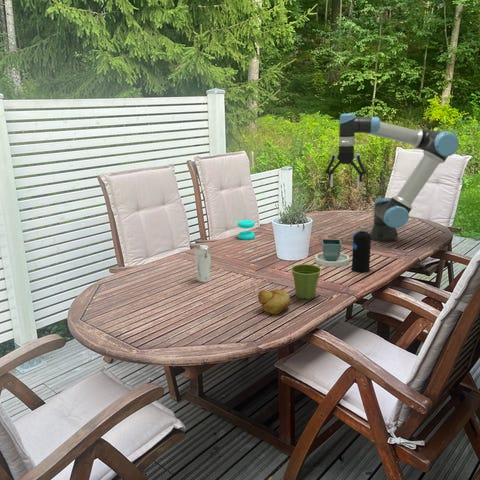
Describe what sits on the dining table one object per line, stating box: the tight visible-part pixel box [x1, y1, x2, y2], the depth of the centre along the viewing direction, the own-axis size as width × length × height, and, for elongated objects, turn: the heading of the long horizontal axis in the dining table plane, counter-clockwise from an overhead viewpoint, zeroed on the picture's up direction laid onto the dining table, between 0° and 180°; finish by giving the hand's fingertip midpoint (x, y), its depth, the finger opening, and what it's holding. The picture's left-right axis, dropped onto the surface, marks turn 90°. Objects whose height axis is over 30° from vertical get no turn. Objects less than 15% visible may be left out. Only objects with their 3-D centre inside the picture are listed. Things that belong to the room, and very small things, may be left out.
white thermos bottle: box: [194, 244, 212, 283], centre depth 191 cm, size 7×7×15 cm
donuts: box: [237, 219, 256, 241], centre depth 255 cm, size 10×10×10 cm
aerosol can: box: [350, 225, 372, 274], centre depth 197 cm, size 8×8×20 cm
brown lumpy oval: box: [257, 288, 291, 315], centre depth 161 cm, size 13×10×8 cm
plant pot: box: [290, 263, 323, 300], centre depth 171 cm, size 12×12×11 cm
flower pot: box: [321, 238, 342, 261], centre depth 211 cm, size 9×9×9 cm
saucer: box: [314, 251, 351, 268], centre depth 212 cm, size 16×16×2 cm
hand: (344, 187), depth 227 cm, fingers open, 13 cm apart
